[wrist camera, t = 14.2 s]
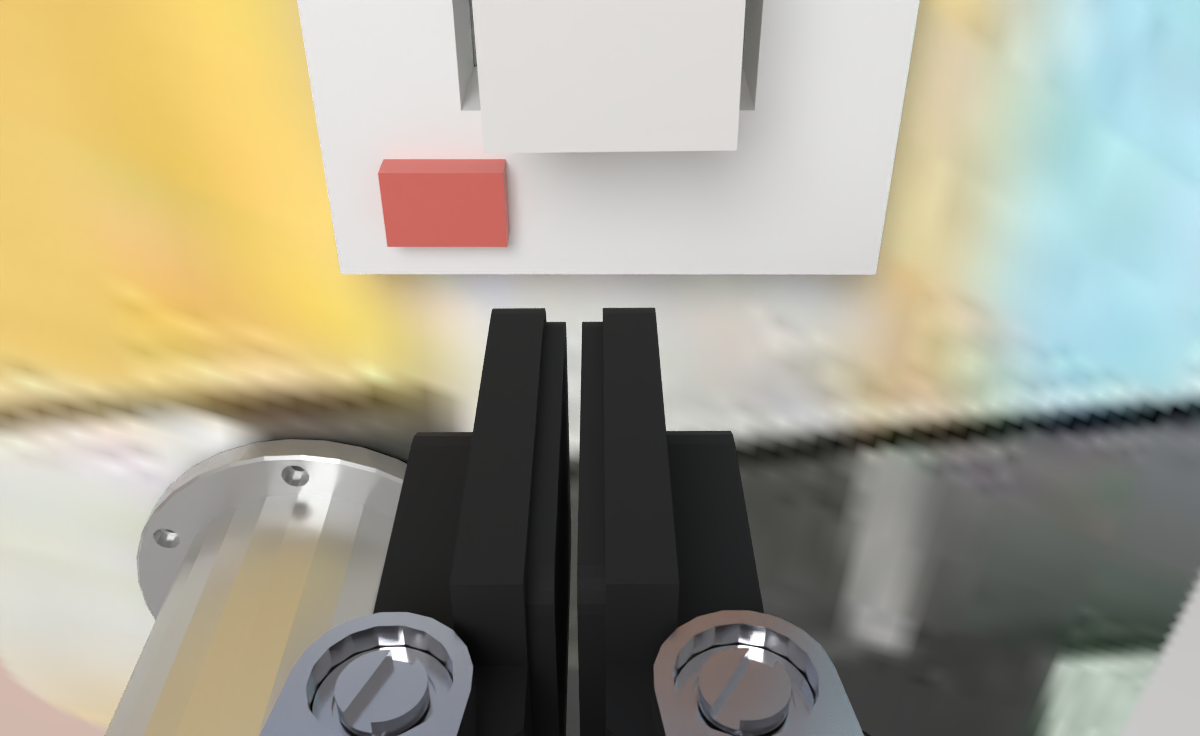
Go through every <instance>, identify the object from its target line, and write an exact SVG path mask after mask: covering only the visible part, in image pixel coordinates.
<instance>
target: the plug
mask: <svg viewBox="0 0 1200 736" xmlns="http://www.w3.org/2000/svg"><path fill="white" fill-rule="evenodd" d="M745 4H746V0H472V9H473V21H474V34H475V46H476V58H477V71H478V83H479V95H480V108H481V120H482V132H483V145H484V153H555V152H647V151H737V139H738V122H739V105H740V88H741V72H742V55H743V38H744V21H745Z"/></svg>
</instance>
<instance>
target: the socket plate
mask: <svg viewBox="0 0 1200 736" xmlns="http://www.w3.org/2000/svg"><path fill="white" fill-rule="evenodd" d="M919 1H920V0H747V11H746V25H745V39H744V53H743V66H742V72H741V88H740V105H739V122H738V139H737V151H647V152H555V153H484V145H483V132H482V120H481V108H480V95H479V83H478V71H477V67H474V62H473V48H472V34H471V19H470V5H469V0H297V3H298V9H299V15H300V22H301V28H302V34H303V40H304V47H305V53H306V59H307V65H308V72H309V78H310V84H311V90H312V97H313V103H314V109H315V116H316V122H317V128H318V134H319V141H320V147H321V153H322V159H323V166H324V172H325V178H326V184H327V191H328V197H329V203H330V210H331V216H332V222H333V228H334V235H335V241H336V247H337V253H338V260H339V266H340V272H341V274H806V275H876V271H877V264H878V258H879V252H880V246H881V239H882V233H883V227H884V221H885V214H886V208H887V202H888V196H889V189H890V183H891V177H892V170H893V164H894V158H895V152H896V145H897V139H898V133H899V127H900V120H901V114H902V108H903V102H904V95H905V89H906V83H907V77H908V70H909V64H910V58H911V51H912V45H913V39H914V33H915V26H916V20H917V14H918V8H919Z"/></svg>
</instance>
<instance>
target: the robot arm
mask: <svg viewBox="0 0 1200 736" xmlns="http://www.w3.org/2000/svg"><path fill="white" fill-rule="evenodd" d="M570 567H571V503H570V462H569V421H568V381H567V340H566V322H546V311H545V308H516V309H492V313H491V319H490V325H489V332H488V338H487V345H486V351H485V358H484V364H483V371H482V377H481V384H480V390H479V397H478V403H477V410H476V416H475V422H474V429H473V432H428V433H417V434H416V435H415V436H414V439H413V442H412V445H411V449H410V453H409V458H408V462H407V464H406V463H404V462H402V461H400V460H398V459H395V458H392V457H390V456H387V455H384V454H381V453H378V452H375V451H372V450H369V449H366V448H363V447H358V446H352V445H347V444H341V443H336V442H331V441H323V440H298V439H285V440H277V441H268V442H259V443H252V444H248V445H245V446H241V447H238V448H234V449H231V450H227V451H224V452H220V453H218V454H216V455H214V456H212V457H211V458H209V459H207V460H205V461H203V462H201V463H199V464H197V465H195V466H193V467H191V468H190V469H189V470H188V471H187V472H185V473H184V474H183V475H182V476H180V477H179V478H178V479H177V480H176V481H174V482H173V483H172V484H171V485H170V486H169V487H168V489H167V490H166V492H165V493H164V494H163V496H162V497H161V498H160V500H159V501H158V502H157V504H156V505H155V507H154V509H153V511H152V513H151V515H150V517H149V519H148V521H147V523H146V525H145V527H144V529H143V532H142V535H141V539H140V544H139V549H138V553H137V569H138V582H139V585H140V588H141V591H142V594H143V597H144V599H145V602H146V605H147V607H148V609H149V610H150V612H151V614H152V615H153V617H154V618H155V620H156V621H155V623H154V626H153V628H152V630H151V632H150V635H149V637H148V639H147V641H146V644H145V646H144V648H143V650H142V653H141V655H140V657H139V659H138V662H137V664H136V666H135V668H134V671H133V673H132V675H131V677H130V680H129V682H128V684H127V686H126V689H125V691H124V693H123V695H122V698H121V700H120V702H119V704H118V707H117V709H116V711H115V713H114V716H113V718H112V720H111V722H110V725H109V727H108V729H107V731H106V734H105V736H566V712H567V676H568V639H569V603H570ZM577 608H578V656H579V702H580V736H870V735H869V734H867V733H866V732H864V731H863V730H861V727H860V725H859V723H858V720H857V718H856V716H855V713H854V711H853V708H852V706H851V704H850V701H849V699H848V697H847V694H846V692H845V690H844V687H843V685H842V683H841V680H840V678H839V676H838V673H837V671H836V668H835V666H834V665H833V663H832V662H831V660H830V658H829V657H828V655H827V654H826V652H825V651H824V649H823V647H822V646H821V645H820V644H819V643H818V642H816V641H815V640H814V639H813V638H812V637H811V636H809V635H808V634H807V633H806V632H805V631H804V630H802V629H801V628H799V627H797V626H795V625H793V624H791V623H789V622H787V621H785V620H783V619H781V618H779V617H776V616H772V615H768V614H764V611H763V605H762V599H761V593H760V588H759V582H758V576H757V570H756V564H755V558H754V553H753V547H752V541H751V535H750V529H749V523H748V518H747V512H746V506H745V500H744V494H743V488H742V482H741V477H740V471H739V465H738V459H737V453H736V447H735V442H734V438H733V434H732V433H731V431H666V426H665V415H664V403H663V392H662V380H661V369H660V357H659V346H658V334H657V323H656V312H655V308H603V322H582V361H581V410H580V459H579V509H578V559H577Z"/></svg>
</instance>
